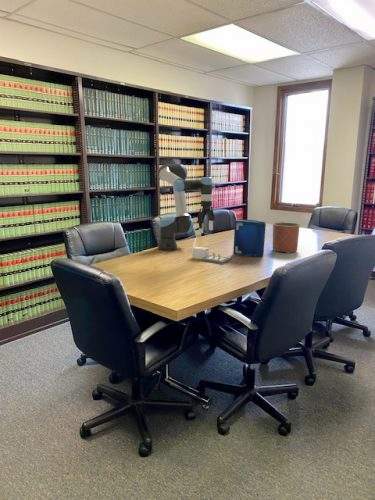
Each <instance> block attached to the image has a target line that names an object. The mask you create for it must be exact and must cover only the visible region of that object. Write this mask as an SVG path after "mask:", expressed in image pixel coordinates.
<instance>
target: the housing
mask: <svg viewBox="0 0 375 500" xmlns="http://www.w3.org/2000/svg"><path fill="white" fill-rule="evenodd" d="M191 252H192V253H191V254H192V255H191V258H192V259H197V260H198V259H199V260H202V258H205V257H207V256H209V247H205V246H204V247H203V246H194V247H192V249H191Z"/></svg>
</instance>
